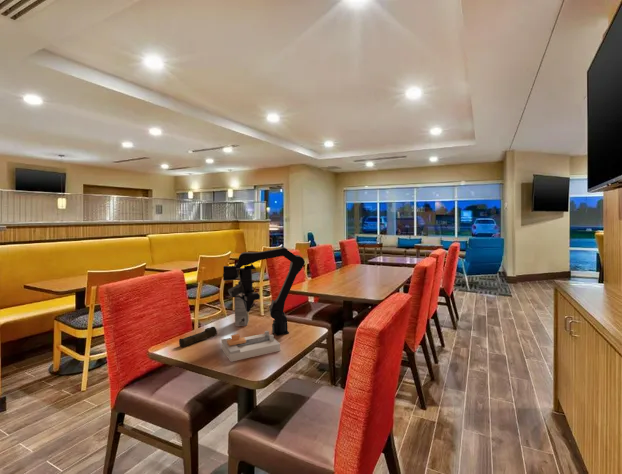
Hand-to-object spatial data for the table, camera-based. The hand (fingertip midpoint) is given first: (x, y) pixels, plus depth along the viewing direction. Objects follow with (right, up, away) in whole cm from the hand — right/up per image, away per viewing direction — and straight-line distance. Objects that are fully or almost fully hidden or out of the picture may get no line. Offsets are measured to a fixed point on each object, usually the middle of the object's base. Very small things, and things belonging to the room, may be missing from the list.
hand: (247, 311), depth 157 cm
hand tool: (-22, -13, -4) cm, 26 cm away
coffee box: (-7, -11, +19) cm, 23 cm away
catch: (-1, -9, -19) cm, 21 cm away
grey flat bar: (+6, -9, -16) cm, 19 cm away
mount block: (+4, -13, -16) cm, 21 cm away
